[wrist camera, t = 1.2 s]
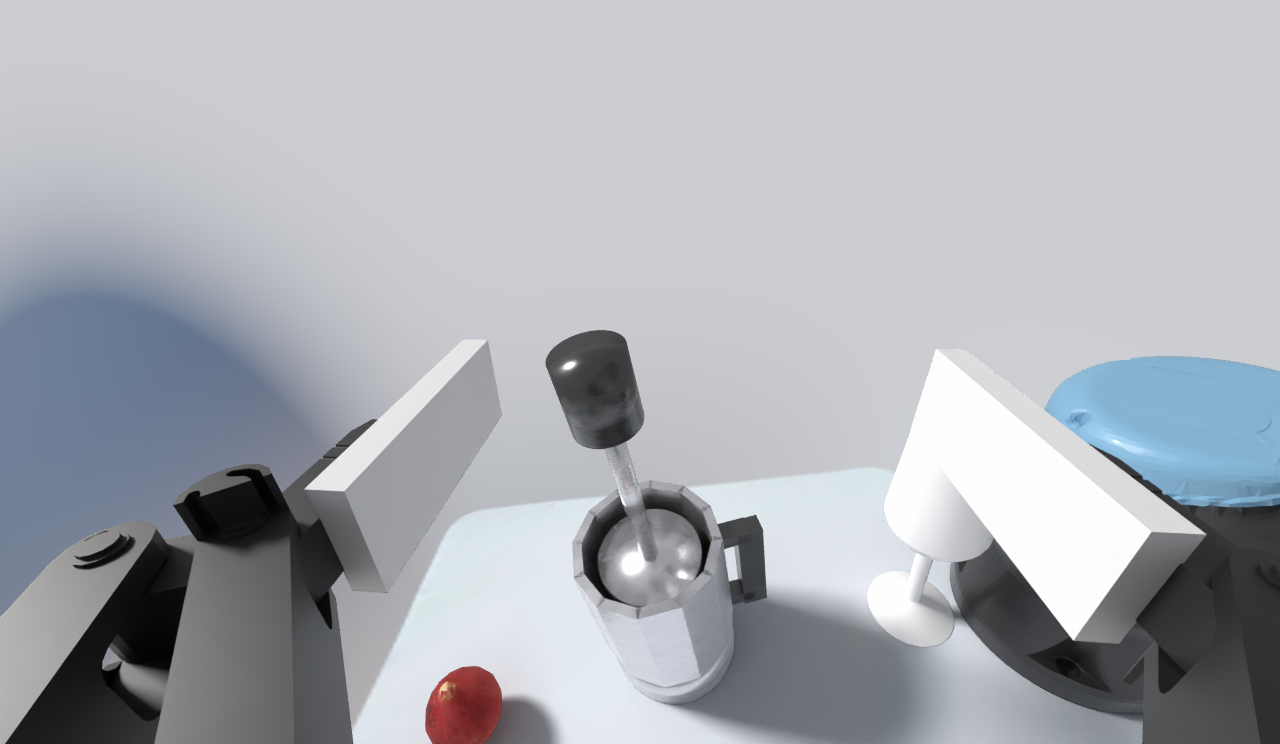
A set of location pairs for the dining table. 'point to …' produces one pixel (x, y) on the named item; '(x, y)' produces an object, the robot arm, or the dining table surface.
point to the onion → (464, 707)
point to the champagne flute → (924, 548)
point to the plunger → (622, 470)
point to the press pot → (684, 626)
